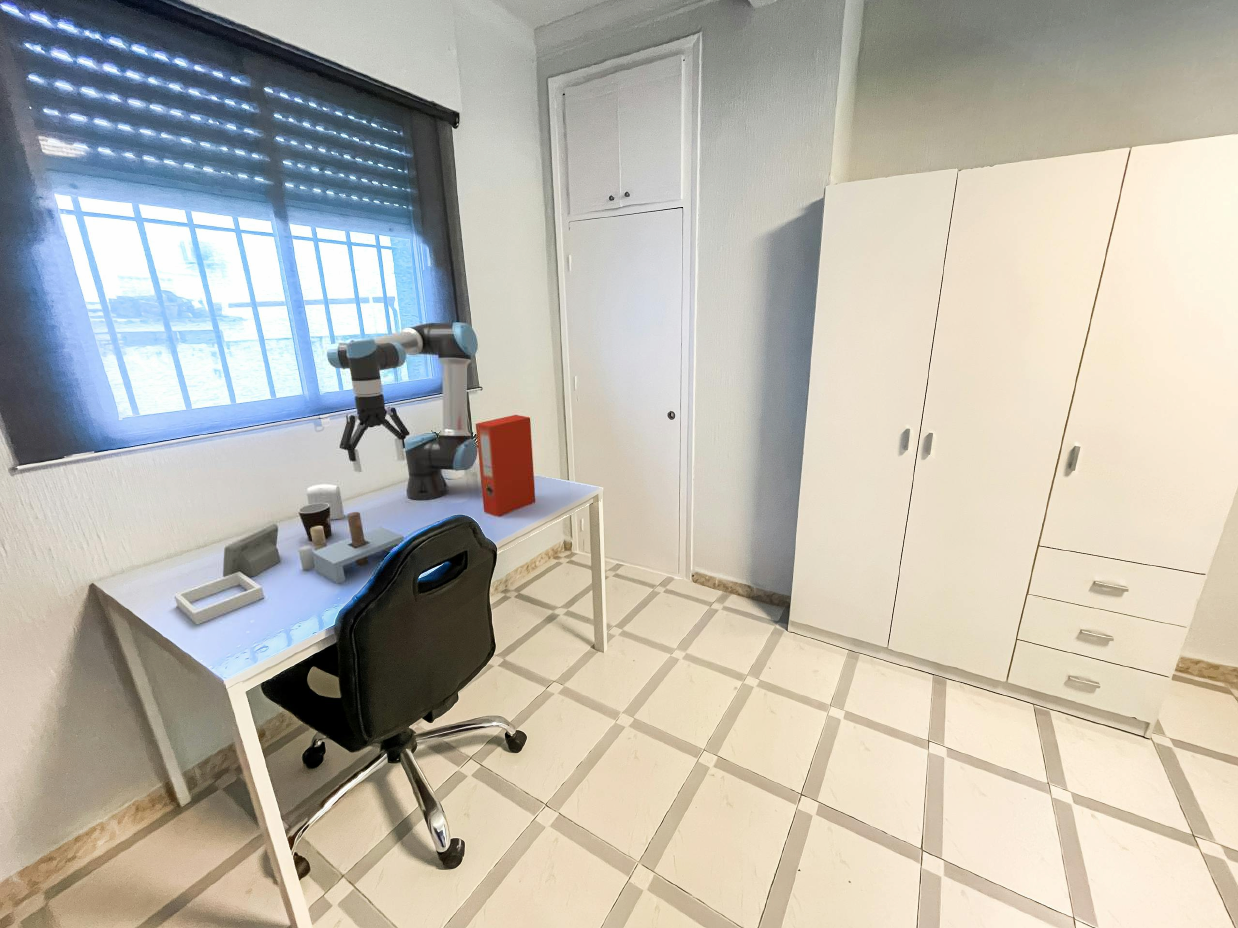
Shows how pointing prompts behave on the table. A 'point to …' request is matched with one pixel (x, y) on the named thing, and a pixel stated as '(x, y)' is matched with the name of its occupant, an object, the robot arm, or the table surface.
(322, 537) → the medium dowel
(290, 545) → the table surface
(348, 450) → the robot arm
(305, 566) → the short dowel
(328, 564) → the bridge
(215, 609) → the frame
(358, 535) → the long dowel
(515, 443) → the file binder
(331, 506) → the photo printer
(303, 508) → the coffee mug
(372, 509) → the table surface
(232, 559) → the digital clock
